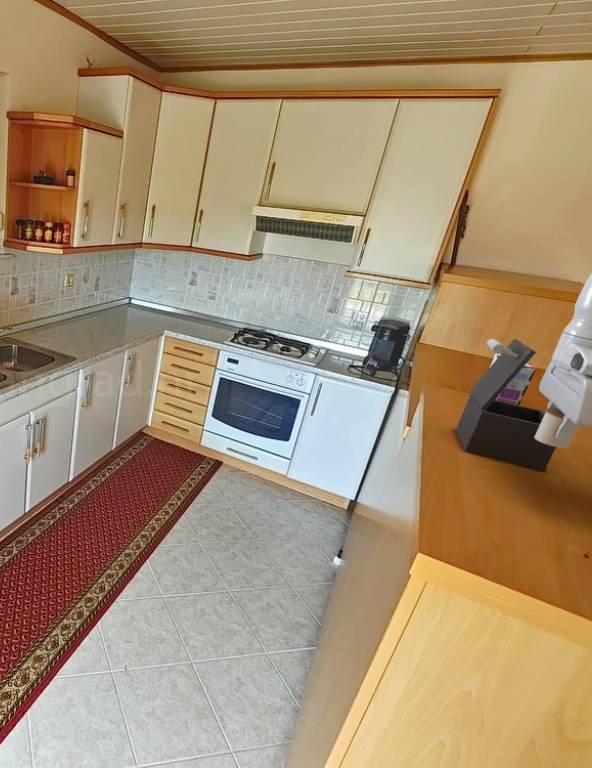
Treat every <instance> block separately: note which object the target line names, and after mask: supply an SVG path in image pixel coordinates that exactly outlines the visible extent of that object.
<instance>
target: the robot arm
mask: <svg viewBox="0 0 592 768" xmlns="http://www.w3.org/2000/svg"><path fill="white" fill-rule="evenodd" d="M548 364H549V365H548V366H547V368H546V370H545V372H544V375H543V376H542V378H541V379H540V382H539V387H538V391H539V392H540V393H541V394H542V395H543V396H544V397H546V399H547V400H548V403H547V408H546V409H557V410H561V411H562V412H563V413H564V414H565V416H564V418H563V420H564V421H563V423H562V424H561V426H560V427H557V429H556V431H555V433H554V436H555V438H556V439H557V440H560V441H564V442H569V441H571V439H572V437H573V435H574V433H575V432H576V433H577V431H579V430H580V429H581V428H582V427H586V428H590V429H592V272H591V273H590V275H589V276H588V278H587V279H586V282H585V284H584V285H583V287H582V288H581V290H580V293H579V295H578V298H577V300H576V301H575V304H574V311H573V316H572V319H571V320H570V322H569V323H568V324H567V325H566V327H565V328H564V329H563V331H562V333H561V336H560V338H559V339H558V342H557V345H556V347H555V349H554V352H553V354H552V356H551V361H550V363H548ZM576 433H575V434H576ZM574 436H575V435H574ZM573 438H574V437H573ZM572 440H573V439H572ZM571 442H572V441H571Z"/></svg>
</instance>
